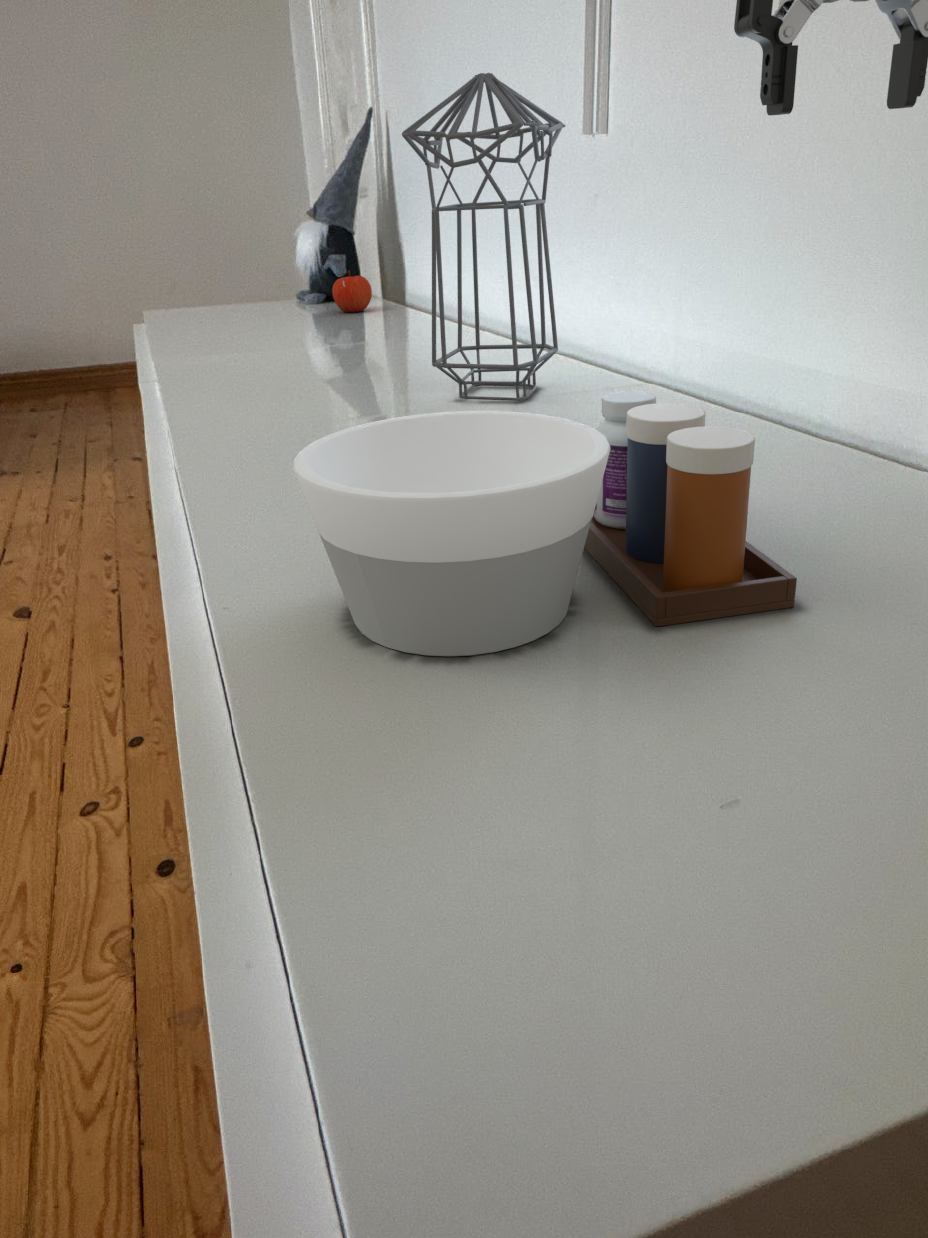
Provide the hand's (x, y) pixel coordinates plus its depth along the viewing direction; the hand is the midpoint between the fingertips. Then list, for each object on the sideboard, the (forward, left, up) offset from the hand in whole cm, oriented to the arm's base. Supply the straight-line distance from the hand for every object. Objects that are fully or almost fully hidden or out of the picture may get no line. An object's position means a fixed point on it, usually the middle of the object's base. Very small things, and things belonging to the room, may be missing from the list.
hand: (840, 111), depth 62 cm
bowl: (+28, +7, -28) cm, 40 cm away
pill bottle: (+13, -4, -28) cm, 31 cm away
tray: (+13, +3, -28) cm, 31 cm away
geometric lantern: (+11, -54, -28) cm, 62 cm away
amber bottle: (+13, +10, -28) cm, 32 cm away
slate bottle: (+13, +3, -28) cm, 30 cm away
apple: (+20, -142, -28) cm, 146 cm away
